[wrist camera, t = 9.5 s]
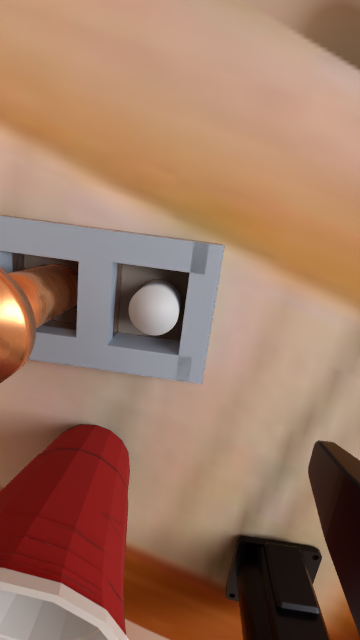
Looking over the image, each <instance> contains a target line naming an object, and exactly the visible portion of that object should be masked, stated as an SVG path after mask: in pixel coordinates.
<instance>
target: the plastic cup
mask: <svg viewBox="0 0 360 640" xmlns="http://www.w3.org/2000/svg"><path fill="white" fill-rule="evenodd" d="M129 474H130V468H129V456H128V451H127V449H126V447H125V445H124V443H123V441H122V440H121V439H120V438H119V437H117V436H116V435H115V434H114V433H113V432H112V431H110V430H108V429H105V428H102V427H100V426H97V425H79V426H76V427H73V428H70V429H68V430H67V431H66V432H64V433H62V434H61V435H60V436H59V437H58V438H57V439H56V440H55V441H53V442H52V443H51V444H50V445H49V446H48V447H47V448H46V449H45V450H44V451H43V452H42V453H41V454H39V455H37V456H36V457H35V458H34V459H33V460H32V461H31V462H30V463H29V464H28V465H27V466H26V467H25V468H24V469H23V470H22V471H21V472H20V473H19V474H18V475H17V476H16V477H15V478H14V479H13V480H12V481H11V482H10V483H9V484H8V485H7V486H6V487H5V488H4V489H3V490H2V491H1V492H0V640H129V639H128V638H127V636H126V631H125V619H124V594H123V581H124V565H125V549H126V532H127V516H128V485H129Z"/></svg>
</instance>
